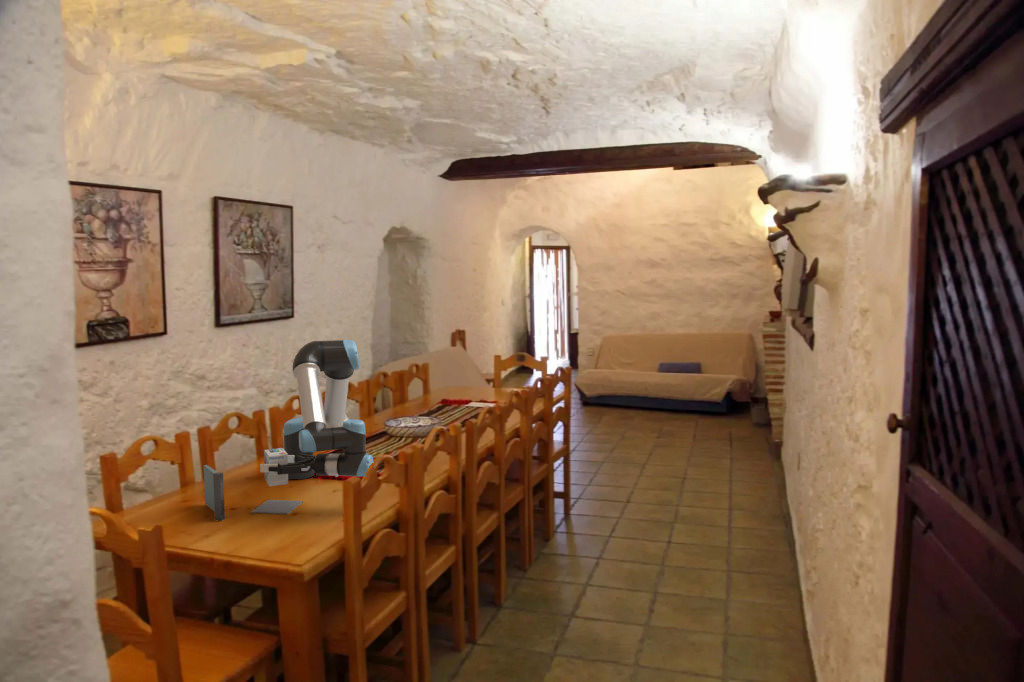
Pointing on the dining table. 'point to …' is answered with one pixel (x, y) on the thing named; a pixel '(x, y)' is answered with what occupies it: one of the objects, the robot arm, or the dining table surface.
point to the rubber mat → (277, 507)
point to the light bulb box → (274, 458)
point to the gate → (209, 486)
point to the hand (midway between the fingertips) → (268, 463)
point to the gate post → (219, 496)
